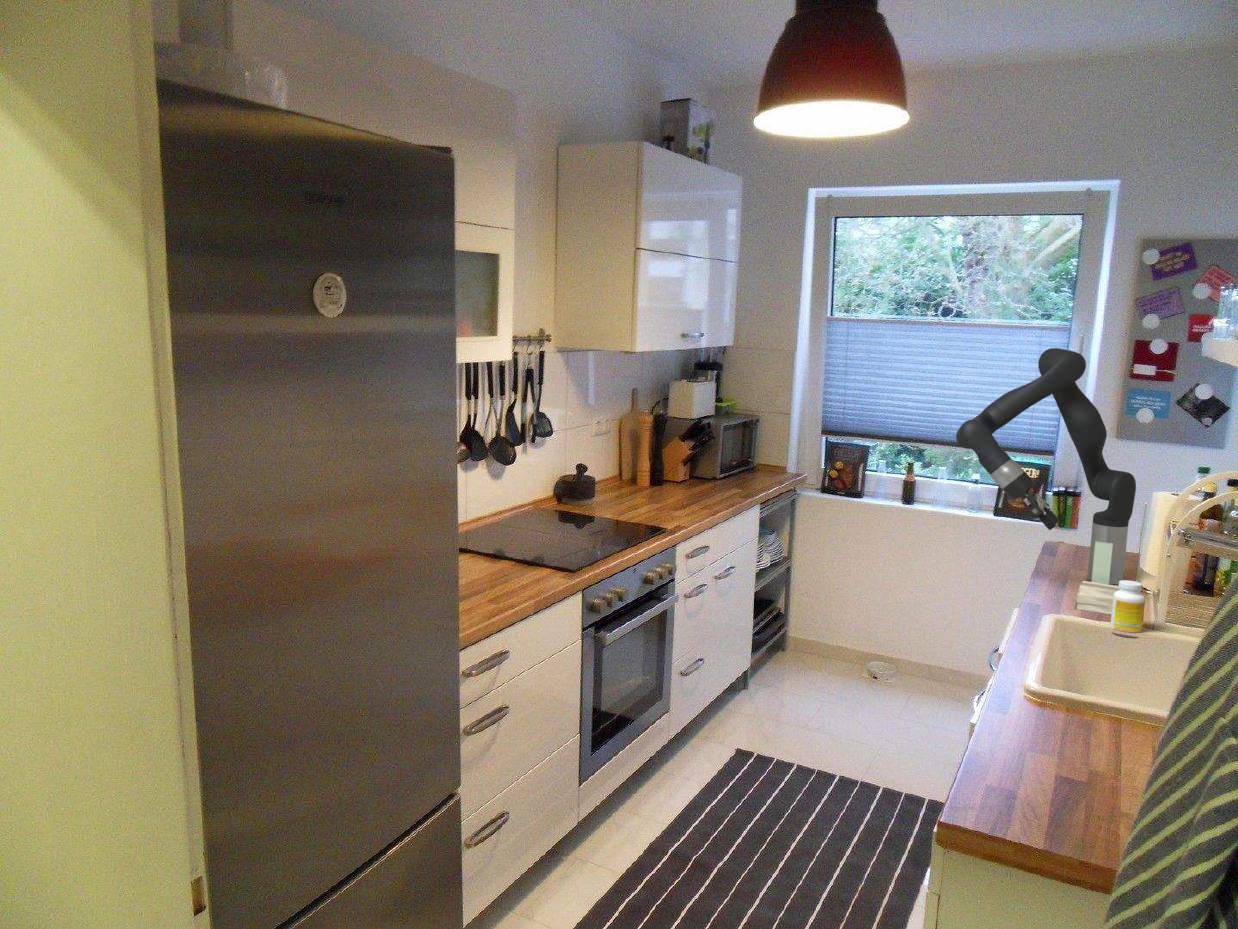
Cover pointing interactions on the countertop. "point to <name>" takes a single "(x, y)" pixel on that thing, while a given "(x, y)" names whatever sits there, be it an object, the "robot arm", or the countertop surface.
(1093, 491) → the robot arm
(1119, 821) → the countertop surface
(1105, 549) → the sage slat
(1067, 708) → the countertop surface
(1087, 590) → the offcut stack
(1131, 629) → the supplement bottle
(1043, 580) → the countertop surface
